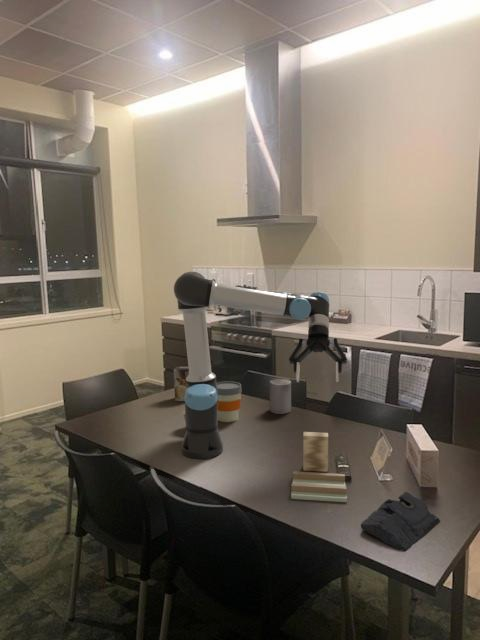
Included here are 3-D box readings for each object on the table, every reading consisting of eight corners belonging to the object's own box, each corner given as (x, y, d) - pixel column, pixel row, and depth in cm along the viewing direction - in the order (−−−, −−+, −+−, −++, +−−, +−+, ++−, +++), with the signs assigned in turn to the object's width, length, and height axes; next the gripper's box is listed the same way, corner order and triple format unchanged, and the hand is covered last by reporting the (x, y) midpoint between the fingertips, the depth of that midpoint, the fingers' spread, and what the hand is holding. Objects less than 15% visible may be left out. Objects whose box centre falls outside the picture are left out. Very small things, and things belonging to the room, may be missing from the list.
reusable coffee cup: (247, 416, 214) (247, 383, 212) (231, 425, 204) (231, 390, 202) (224, 412, 221) (223, 379, 219) (207, 420, 211) (206, 386, 208)
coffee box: (195, 397, 243) (194, 366, 241) (192, 401, 237) (191, 369, 235) (178, 397, 245) (176, 365, 243) (174, 401, 239) (173, 369, 236)
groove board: (291, 498, 143) (291, 489, 143) (293, 477, 157) (293, 468, 156) (346, 502, 141) (346, 492, 140) (344, 479, 154) (344, 470, 154)
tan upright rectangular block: (303, 470, 161) (303, 435, 160) (303, 465, 165) (303, 431, 163) (327, 471, 160) (328, 436, 158) (327, 467, 164) (327, 432, 162)
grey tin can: (270, 406, 227) (270, 375, 225) (291, 407, 226) (291, 376, 224) (269, 414, 218) (268, 381, 215) (291, 414, 216) (290, 381, 214)
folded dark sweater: (350, 531, 127) (350, 514, 126) (391, 500, 142) (392, 484, 142) (405, 556, 116) (406, 537, 116) (444, 519, 132) (445, 503, 131)
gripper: (353, 334, 181) (354, 385, 169) (286, 335, 187) (282, 385, 175) (352, 322, 175) (353, 375, 163) (283, 324, 181) (280, 375, 169)
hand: (317, 380), depth 169 cm, fingers open, 13 cm apart
